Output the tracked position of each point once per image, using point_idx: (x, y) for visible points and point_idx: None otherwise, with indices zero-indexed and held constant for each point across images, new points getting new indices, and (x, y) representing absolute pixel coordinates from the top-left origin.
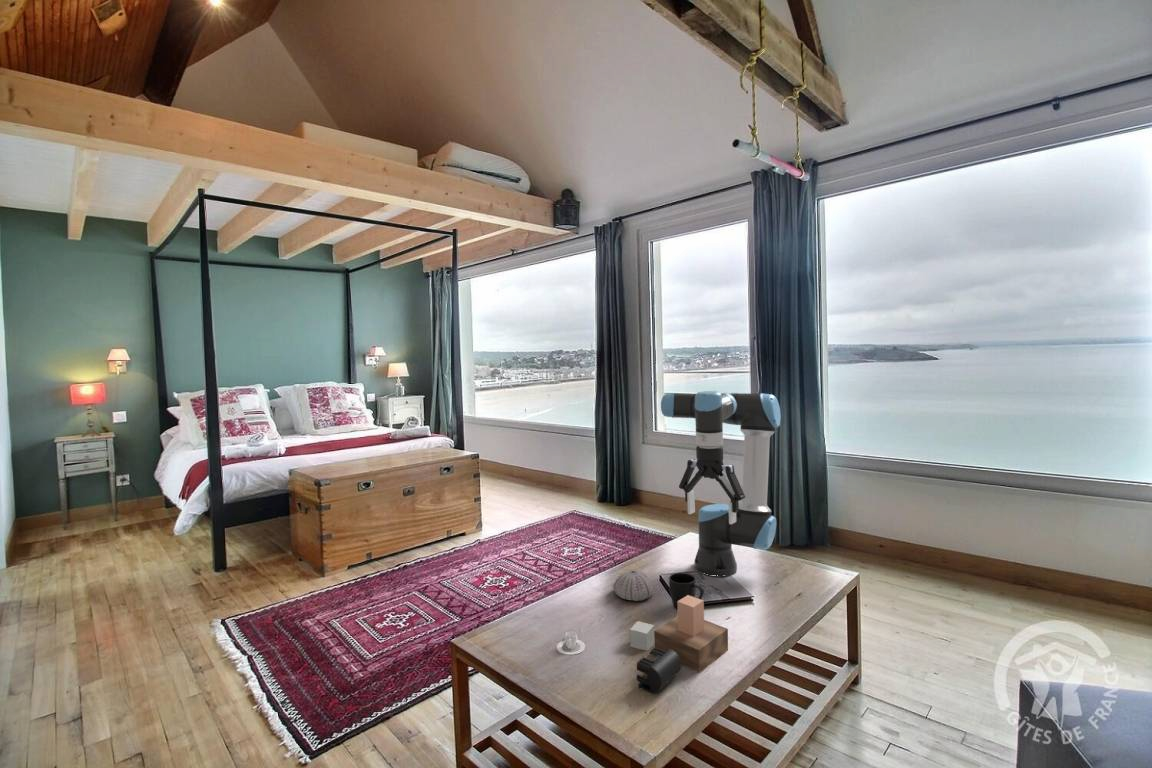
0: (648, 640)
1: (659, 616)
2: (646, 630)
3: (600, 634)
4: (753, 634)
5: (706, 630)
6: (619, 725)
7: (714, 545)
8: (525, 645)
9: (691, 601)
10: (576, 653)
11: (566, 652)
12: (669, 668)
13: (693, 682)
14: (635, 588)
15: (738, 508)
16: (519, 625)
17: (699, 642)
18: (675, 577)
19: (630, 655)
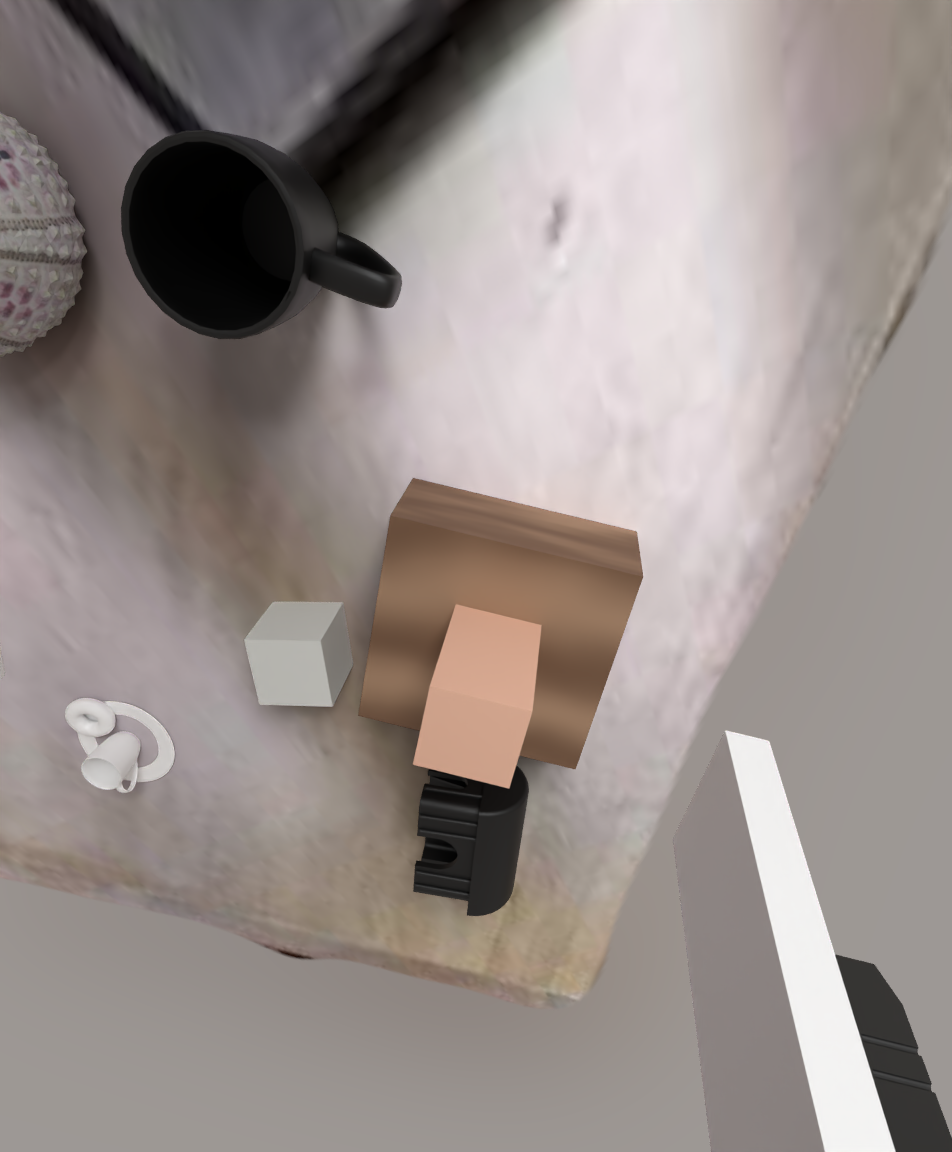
0: (341, 673)
1: (243, 393)
2: (318, 688)
3: (144, 638)
4: (724, 336)
5: (554, 630)
6: (466, 954)
7: None
8: (12, 784)
9: (477, 742)
10: (169, 768)
11: (140, 771)
12: (513, 861)
13: None
14: (8, 323)
15: (911, 1040)
16: None
17: (558, 723)
18: (148, 191)
19: (319, 709)
